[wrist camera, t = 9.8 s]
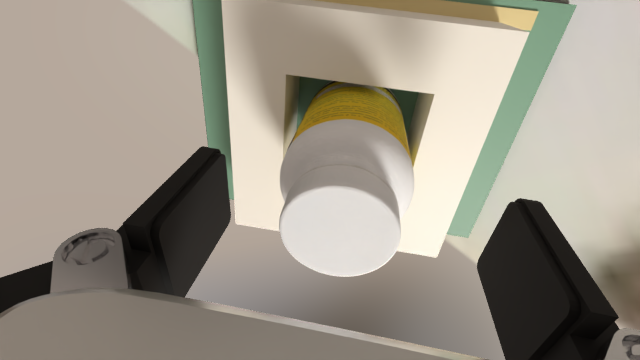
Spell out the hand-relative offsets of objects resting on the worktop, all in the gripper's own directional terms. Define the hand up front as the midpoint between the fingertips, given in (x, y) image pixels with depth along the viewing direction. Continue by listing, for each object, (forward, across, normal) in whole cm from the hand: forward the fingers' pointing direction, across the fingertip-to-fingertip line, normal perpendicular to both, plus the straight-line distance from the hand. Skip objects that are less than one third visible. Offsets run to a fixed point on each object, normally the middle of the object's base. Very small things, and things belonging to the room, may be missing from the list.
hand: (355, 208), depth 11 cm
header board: (+9, +1, +1) cm, 9 cm away
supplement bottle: (+9, +1, +1) cm, 9 cm away
